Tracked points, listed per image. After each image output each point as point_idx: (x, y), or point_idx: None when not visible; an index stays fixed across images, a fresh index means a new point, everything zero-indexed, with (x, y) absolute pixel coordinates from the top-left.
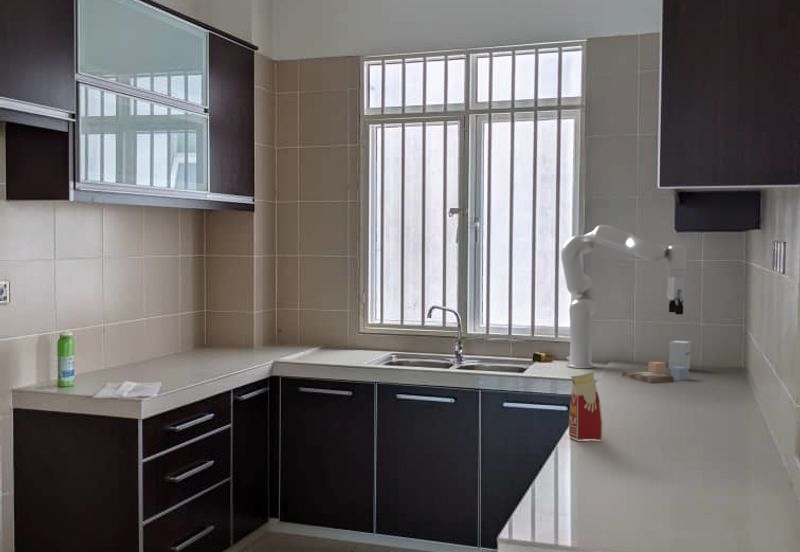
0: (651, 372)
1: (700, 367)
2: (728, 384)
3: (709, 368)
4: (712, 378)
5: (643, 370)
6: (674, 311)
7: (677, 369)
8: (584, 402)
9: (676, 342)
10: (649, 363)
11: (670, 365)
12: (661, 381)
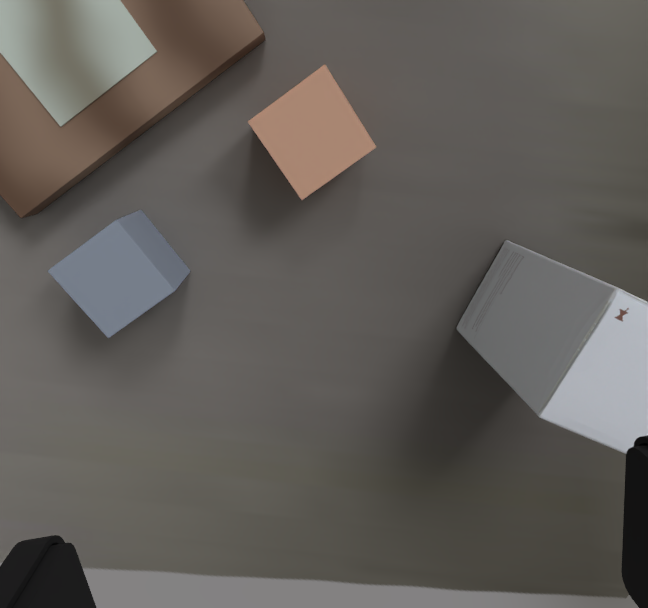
0: (125, 74)
1: None
2: (50, 495)
3: (573, 467)
4: (225, 443)
5: (218, 20)
6: (635, 557)
7: (65, 258)
8: None
9: (584, 345)
10: (314, 73)
11: (510, 253)
12: None
